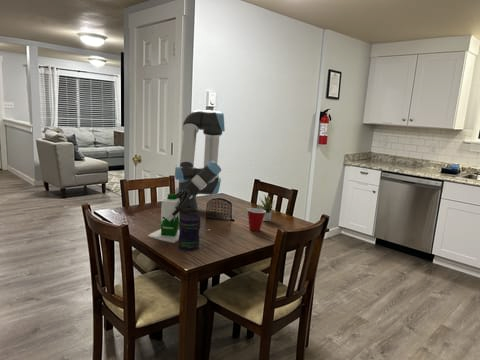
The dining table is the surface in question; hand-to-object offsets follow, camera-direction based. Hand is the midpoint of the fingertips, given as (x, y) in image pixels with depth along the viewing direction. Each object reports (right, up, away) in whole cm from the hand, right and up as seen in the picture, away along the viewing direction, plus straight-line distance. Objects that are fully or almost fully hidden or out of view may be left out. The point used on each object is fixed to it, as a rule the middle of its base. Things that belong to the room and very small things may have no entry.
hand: (164, 215), depth 176 cm
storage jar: (+13, -14, -10) cm, 22 cm away
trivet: (+2, -10, +3) cm, 11 cm away
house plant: (+53, -7, +43) cm, 68 cm away
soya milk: (+2, -10, +3) cm, 10 cm away
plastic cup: (+46, -10, +23) cm, 53 cm away
